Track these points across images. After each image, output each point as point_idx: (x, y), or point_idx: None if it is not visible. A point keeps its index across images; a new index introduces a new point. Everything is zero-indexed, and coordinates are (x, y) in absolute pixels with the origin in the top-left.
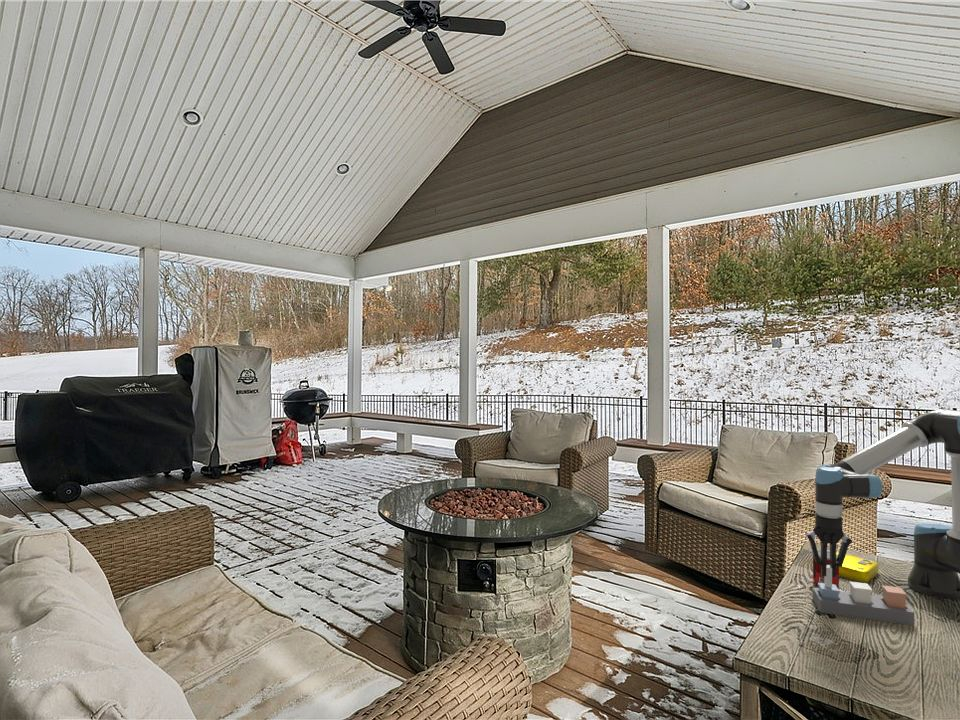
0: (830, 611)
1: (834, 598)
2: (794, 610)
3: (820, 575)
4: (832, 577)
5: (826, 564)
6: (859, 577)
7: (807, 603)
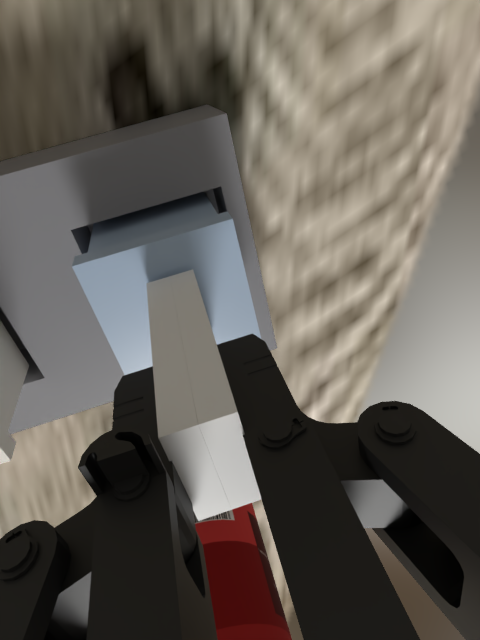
0: (141, 125)
1: (121, 229)
2: (376, 28)
3: (230, 529)
4: None
5: (254, 458)
6: None
7: (284, 222)
